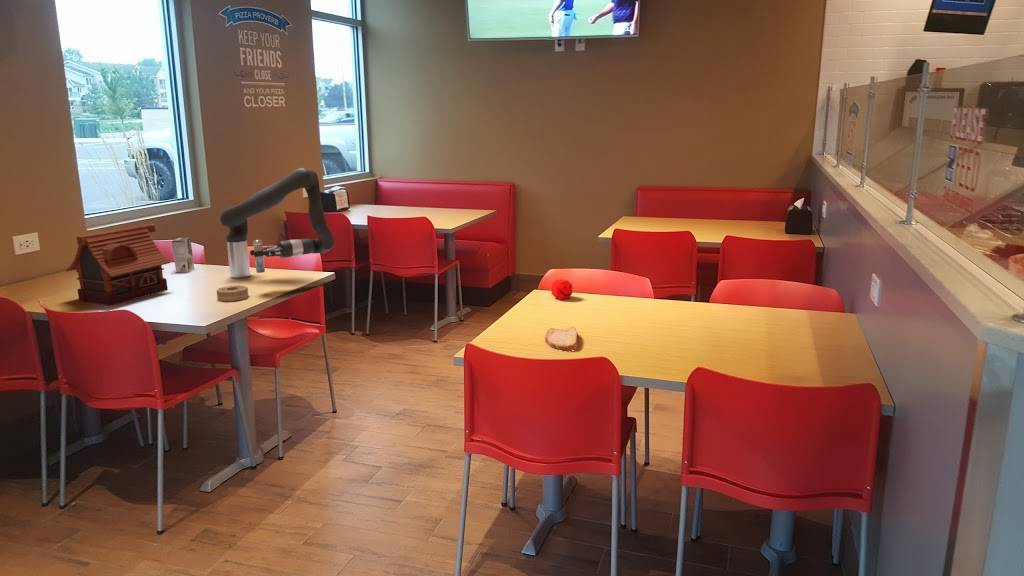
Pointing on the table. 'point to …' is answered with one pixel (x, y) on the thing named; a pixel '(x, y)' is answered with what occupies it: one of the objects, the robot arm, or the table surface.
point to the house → (119, 265)
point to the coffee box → (183, 254)
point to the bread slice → (562, 339)
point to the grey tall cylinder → (259, 260)
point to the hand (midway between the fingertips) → (252, 253)
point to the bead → (232, 293)
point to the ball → (561, 289)
